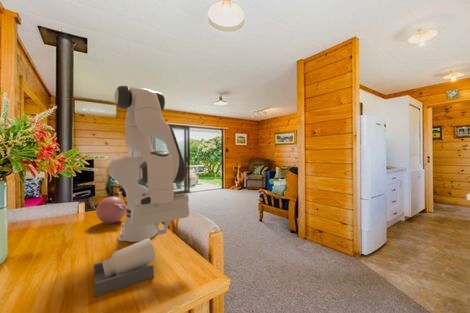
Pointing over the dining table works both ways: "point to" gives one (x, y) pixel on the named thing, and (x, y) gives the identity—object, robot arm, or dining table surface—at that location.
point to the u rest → (119, 278)
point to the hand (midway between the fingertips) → (161, 233)
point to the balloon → (111, 210)
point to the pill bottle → (130, 258)
